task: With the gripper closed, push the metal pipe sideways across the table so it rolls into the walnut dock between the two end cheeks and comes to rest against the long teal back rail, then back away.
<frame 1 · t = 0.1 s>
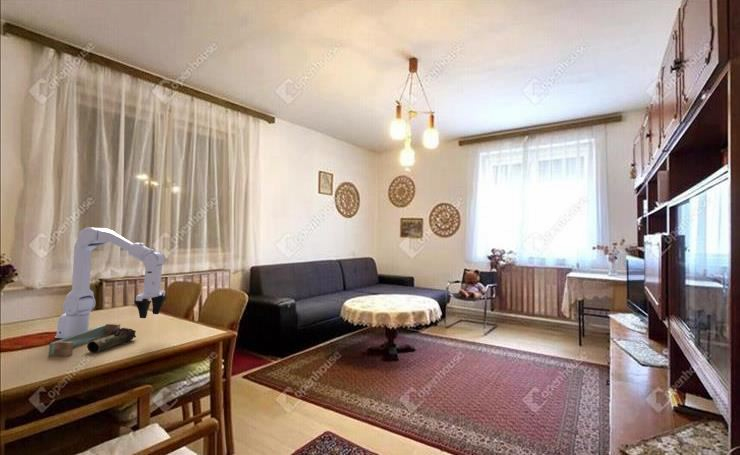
hand: (149, 316, 144), 10 cm above the table, tool pointing down, fingers open, 7 cm apart
dock: (80, 343, 135), on the table
metal pipe: (111, 346, 136), on the table
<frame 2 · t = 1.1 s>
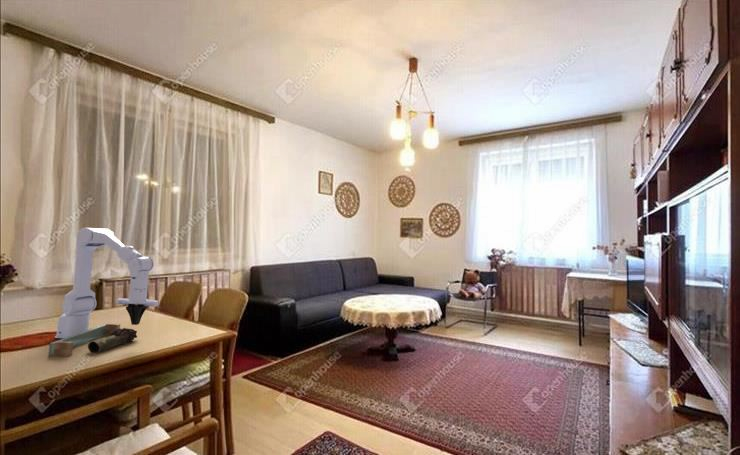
hand: (135, 324, 136), 8 cm above the table, tool pointing down, fingers closed
nothing on the table moved.
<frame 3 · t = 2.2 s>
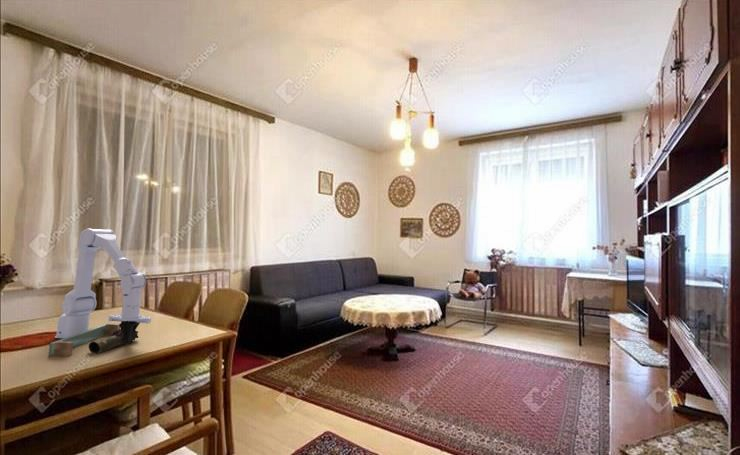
hand: (128, 341, 136), 2 cm above the table, tool pointing down, fingers closed
metal pipe: (113, 347, 135), on the table, touching gripper
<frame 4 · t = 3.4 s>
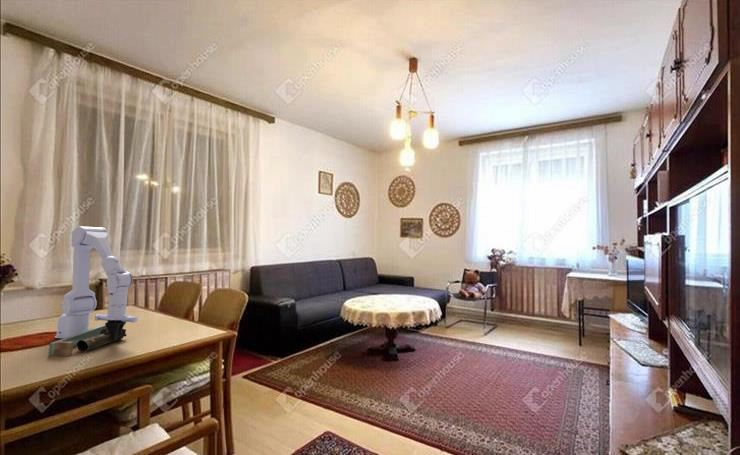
hand: (114, 340, 136), 2 cm above the table, tool pointing down, fingers closed
metal pipe: (101, 345, 136), on the table, touching gripper
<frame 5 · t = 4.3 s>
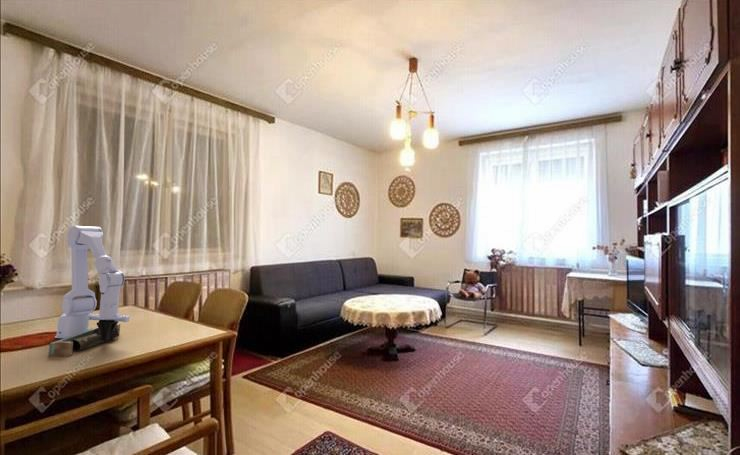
hand: (106, 339, 136), 2 cm above the table, tool pointing down, fingers closed
metal pipe: (94, 345, 136), on the table, touching gripper
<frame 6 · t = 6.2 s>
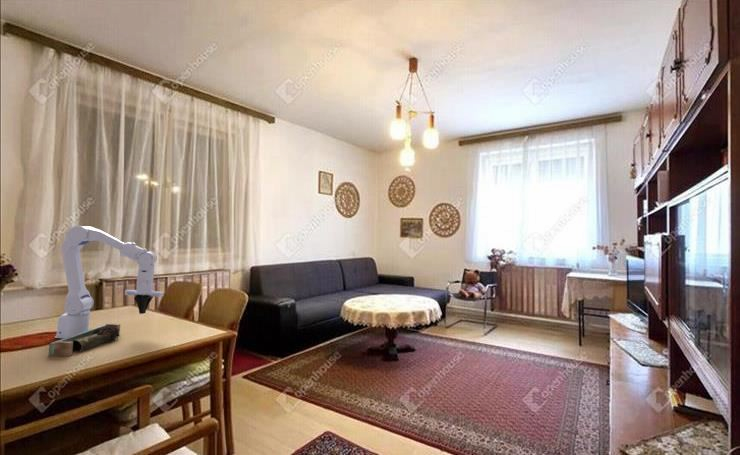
hand: (142, 313, 150), 9 cm above the table, tool pointing down, fingers closed
metal pipe: (94, 345, 136), on the table
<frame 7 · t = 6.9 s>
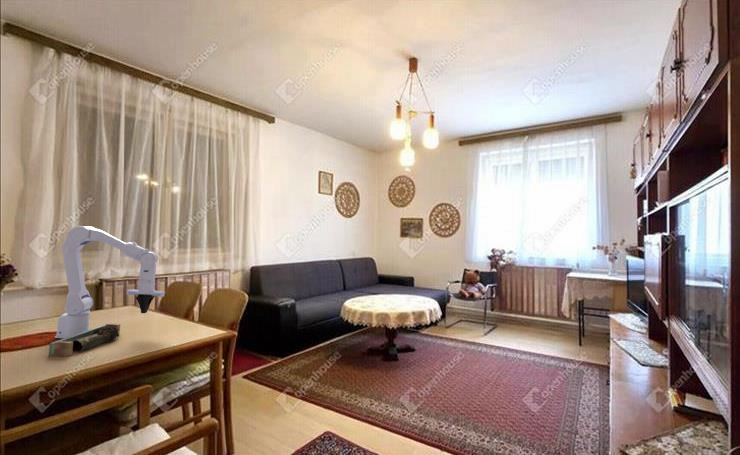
hand: (143, 312, 151), 9 cm above the table, tool pointing down, fingers closed
nothing on the table moved.
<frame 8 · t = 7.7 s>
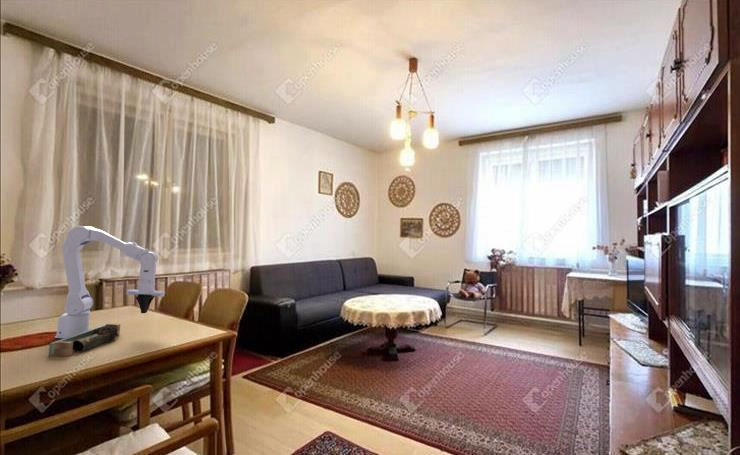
hand: (143, 312, 151), 9 cm above the table, tool pointing down, fingers closed
nothing on the table moved.
at the end: metal pipe inside the target area (0.4 cm from its centre), on the table; metal pipe moved 6.1 cm from its start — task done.
